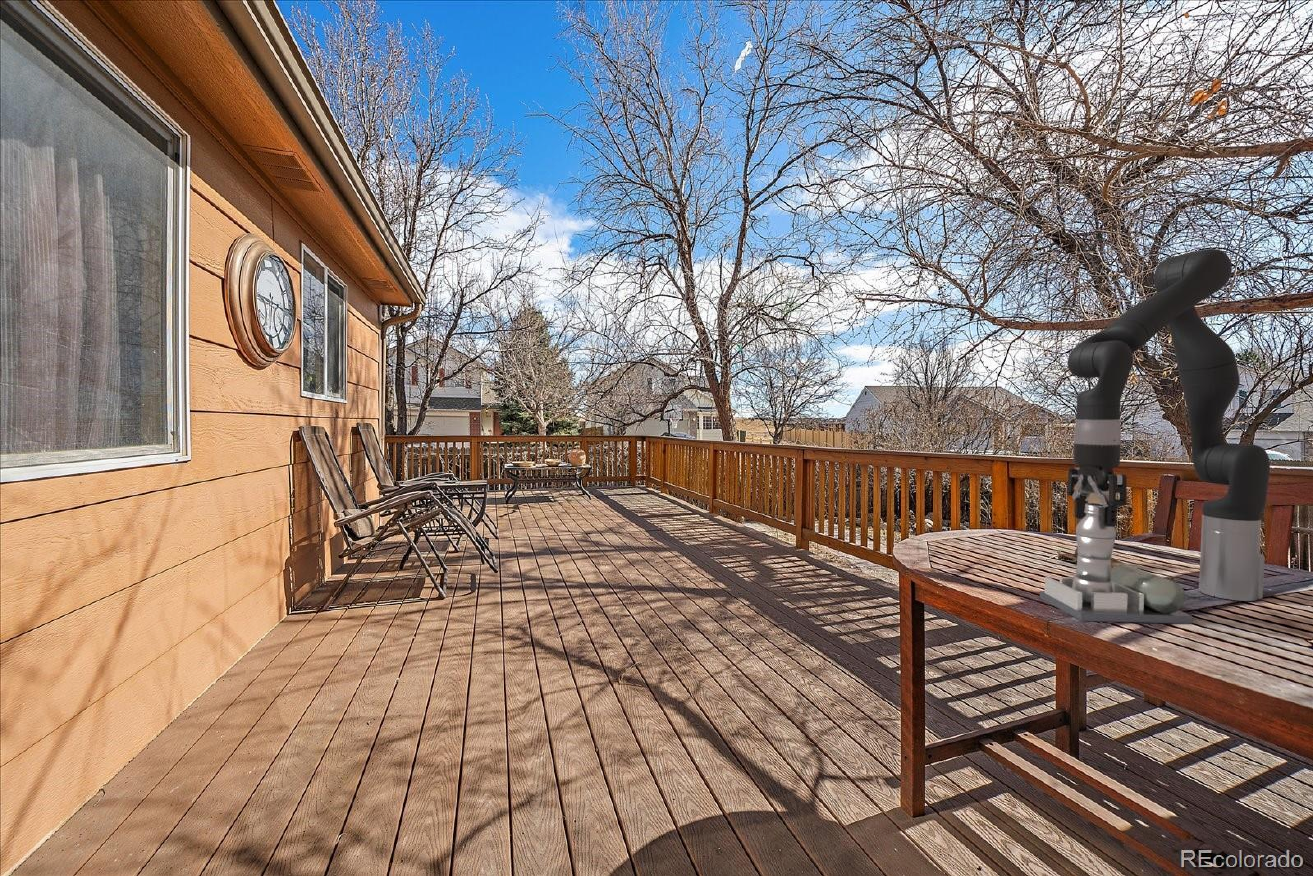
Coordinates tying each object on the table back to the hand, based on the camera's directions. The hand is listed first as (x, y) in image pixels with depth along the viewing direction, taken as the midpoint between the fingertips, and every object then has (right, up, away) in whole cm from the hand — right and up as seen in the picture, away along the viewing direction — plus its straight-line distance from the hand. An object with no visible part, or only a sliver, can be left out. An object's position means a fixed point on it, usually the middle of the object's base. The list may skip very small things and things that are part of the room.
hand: (1094, 522), depth 119 cm
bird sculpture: (+24, -17, +34) cm, 45 cm away
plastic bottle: (0, -17, +1) cm, 17 cm away
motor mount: (+4, -18, +1) cm, 18 cm away
